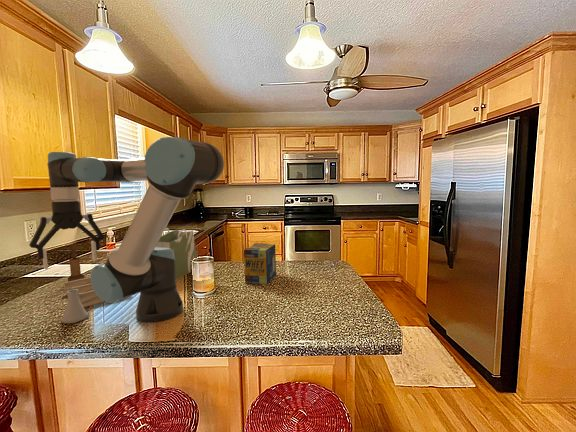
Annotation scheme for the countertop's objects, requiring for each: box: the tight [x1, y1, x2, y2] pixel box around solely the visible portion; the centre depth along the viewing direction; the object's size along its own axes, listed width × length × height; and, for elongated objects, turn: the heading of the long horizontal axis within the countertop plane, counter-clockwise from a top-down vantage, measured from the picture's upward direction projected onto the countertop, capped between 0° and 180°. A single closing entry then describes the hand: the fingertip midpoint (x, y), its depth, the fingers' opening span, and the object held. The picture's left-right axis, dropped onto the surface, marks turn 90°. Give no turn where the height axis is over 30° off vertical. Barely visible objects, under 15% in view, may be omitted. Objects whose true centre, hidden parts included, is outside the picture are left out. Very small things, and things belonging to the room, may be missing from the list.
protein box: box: [243, 242, 277, 286], centre depth 141 cm, size 10×15×16 cm
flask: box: [60, 289, 90, 324], centre depth 103 cm, size 7×7×10 cm
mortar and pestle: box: [67, 243, 85, 282], centre depth 145 cm, size 7×6×18 cm
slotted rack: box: [64, 276, 104, 308], centre depth 127 cm, size 22×18×5 cm
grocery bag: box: [156, 227, 199, 281], centre depth 155 cm, size 32×14×23 cm, turn 174°
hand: (71, 264), depth 102 cm, fingers open, 13 cm apart
